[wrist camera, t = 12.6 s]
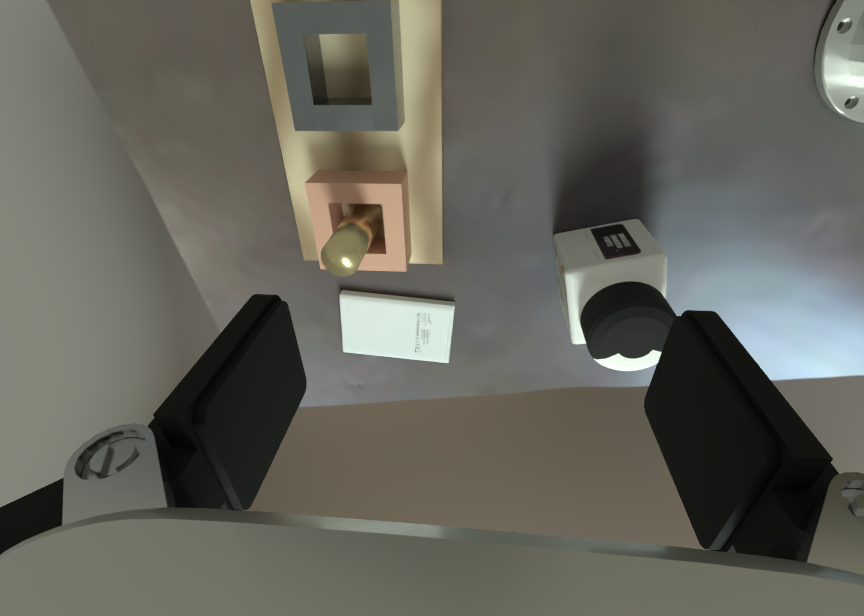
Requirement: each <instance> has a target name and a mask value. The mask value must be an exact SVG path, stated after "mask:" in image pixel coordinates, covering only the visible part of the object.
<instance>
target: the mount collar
mask: <svg viewBox="0 0 864 616" xmlns="http://www.w3.org/2000/svg"><path fill="white" fill-rule="evenodd" d="M271 4H272V10H273V15H274V20H275V26H276V31H277V37H278V42H279V47H280V53H281V58H282V64H283V69H284V74H285V80H286V85H287V90H288V96H289V101H290V107H291V112H292V117H293V123H294V128H295V131H399V129H400V128H401V127H402V125H403V124H404V123H405V110H404V90H403V70H402V51H401V31H400V11H399V1H394V0H365V1H328V2H291V3H271ZM363 33H366V40H367V51H368V63H369V74H370V85H371V97H372V98H328V96H327V89H326V81H325V74H324V67H323V60H322V53H321V46H320V38H319V34H363Z"/></svg>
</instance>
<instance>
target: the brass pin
mask: <svg viewBox="0 0 864 616" xmlns="http://www.w3.org/2000/svg"><path fill="white" fill-rule="evenodd" d="M382 221H383V210H382V208H381V206H380V205H379V204H354V205H353V206H352V208H351V209H350V211H349V212H348V213H347V215H346V216H345V217H344V219H343V220H342V222H341V223H340V224H339V226H338V227H337V229H336V230H335V231H334V233H333V234H332V236H331V237H330V238H329V240H328V241H327V243H326V244H325V245H324V247H323V248H322V250H321V261H322V263H323V265H324V266H325V268H326V269H327V270H328V271H330V272H331V273H333V274H335V275H338V276H349V275H352V274H353V273H355V272H356V271H357V269H358V267H359V265H360V264H361V262H362V260H363V258H364V256H365V254H366V252H367V250H368V248H369V246H370V244H371V242H372V240H373V238H374V237H375V235H376V233H377V231H378V229H379V227H380V225H381V223H382Z"/></svg>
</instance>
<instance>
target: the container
mask: <svg viewBox="0 0 864 616" xmlns="http://www.w3.org/2000/svg"><path fill="white" fill-rule="evenodd" d="M553 242H554V251H555V260H556V268H557V277H558V286H559V294H560V301H561V304H562V308H563V312H564V315H565V319H566V322H567V326H568V330H569V333H570V337H571V340H572V342H573V344H584V343H586V344H587V348H588V351H589V353H590V355H591V356H592V357H593V358H594V359H595V360H596V361H597V362H598V363H600V364H601V365H603V366H605V367H608V368H610V369H615V370H620V371H635V370H641V369H644V368H648V367H650V366H653V365H655V364H657V363H658V361H659V358H660V355H661V352H662V350H663V347H664V344H665V341H666V339H667V336H668V333H669V330H670V328H671V325H672V322H673V320H674V318H675V317H677V316H676V314H675V313H674V311H673V310H672V308H671V307H670V305H669V304H668V302H667V301H666V288H667V263H668V257H667V255H666V253H665V252H664V251H663V250H662V248H661V247H660V246H659V244H658V243H657V242H656V241H655V239H654V238H653V237H652V235H651V234H650V233H649V232H648V230H647V229H646V228H645V226H644V225H643V224H642V223H641V221H640V220H638V219H631V220H626V221H621V222H615V223H610V224H605V225H599V226H594V227H589V228H584V229H578V230H573V231H568V232H562V233H557V234H555V235H554V236H553Z"/></svg>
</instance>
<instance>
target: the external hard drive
mask: <svg viewBox="0 0 864 616" xmlns="http://www.w3.org/2000/svg"><path fill="white" fill-rule="evenodd" d="M454 309H455V302H450V301H441V300H432V299H423V298H413V297H404V296H394V295H385V294H376V293H366V292H357V291H347V290H342V291H341V293H340V312H341V326H342V340H343V352H349V353H358V354H368V355H377V356H387V357H396V358H405V359H415V360H424V361H434V362H443V363H449V353H450V344H451V335H452V326H453V317H454Z"/></svg>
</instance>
